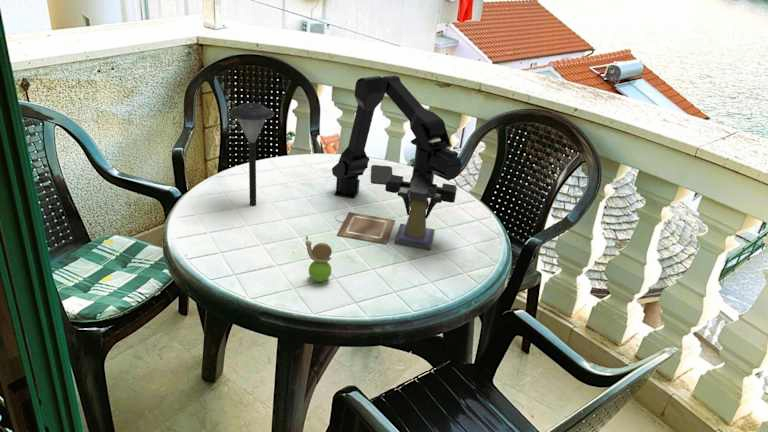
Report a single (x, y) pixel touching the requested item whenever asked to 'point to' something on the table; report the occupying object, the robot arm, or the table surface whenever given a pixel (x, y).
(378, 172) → the phone
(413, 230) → the cork
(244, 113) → the solar garden light
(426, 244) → the ink pad
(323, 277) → the snail figurine
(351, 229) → the marked board
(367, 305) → the table surface
